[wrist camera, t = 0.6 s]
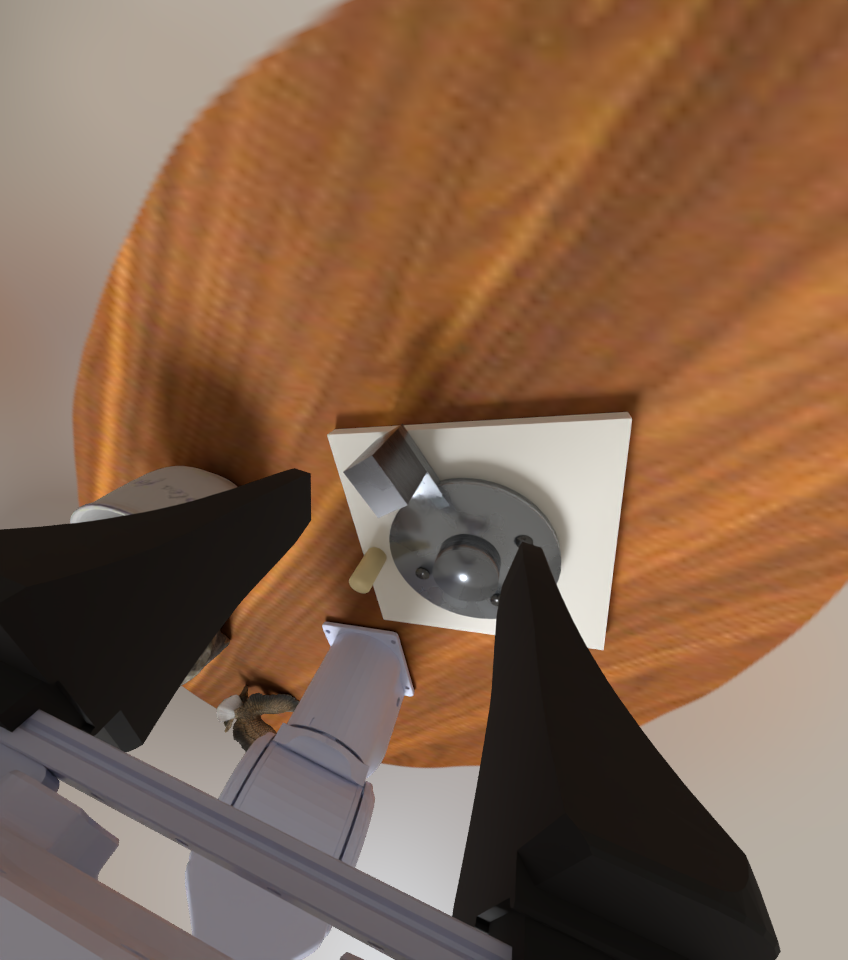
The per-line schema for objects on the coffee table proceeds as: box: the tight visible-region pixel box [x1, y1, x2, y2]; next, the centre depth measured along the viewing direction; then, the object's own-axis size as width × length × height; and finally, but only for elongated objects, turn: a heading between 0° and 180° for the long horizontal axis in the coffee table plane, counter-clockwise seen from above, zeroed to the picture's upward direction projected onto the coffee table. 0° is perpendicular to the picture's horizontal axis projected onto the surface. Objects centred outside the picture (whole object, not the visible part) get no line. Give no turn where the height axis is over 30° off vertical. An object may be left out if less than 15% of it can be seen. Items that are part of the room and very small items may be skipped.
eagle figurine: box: [216, 685, 299, 752], centre depth 44 cm, size 8×7×9 cm
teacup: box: [70, 466, 237, 524], centre depth 27 cm, size 14×11×8 cm
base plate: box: [327, 412, 632, 650], centre depth 22 cm, size 17×17×4 cm
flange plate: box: [343, 424, 561, 619], centre depth 20 cm, size 15×11×4 cm
